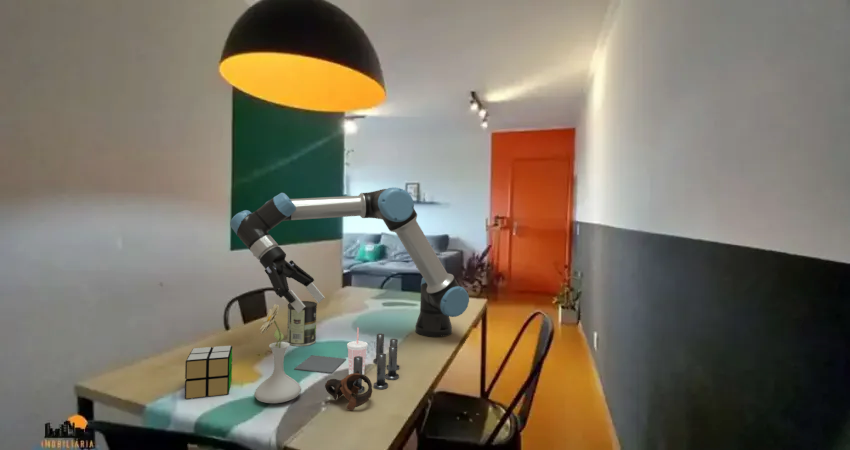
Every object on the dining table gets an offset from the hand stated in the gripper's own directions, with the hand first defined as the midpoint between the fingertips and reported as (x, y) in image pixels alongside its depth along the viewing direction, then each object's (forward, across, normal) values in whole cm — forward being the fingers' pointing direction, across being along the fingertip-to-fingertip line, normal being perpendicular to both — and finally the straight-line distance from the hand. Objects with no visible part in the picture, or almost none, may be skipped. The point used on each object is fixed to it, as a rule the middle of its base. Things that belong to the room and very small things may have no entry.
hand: (312, 304), depth 128 cm
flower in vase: (+15, +22, -13) cm, 30 cm away
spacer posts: (+30, +1, +2) cm, 30 cm away
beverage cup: (+25, +1, -3) cm, 25 cm away
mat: (+15, -3, -12) cm, 20 cm away
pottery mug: (+28, +19, 0) cm, 34 cm away
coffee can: (+4, -22, -24) cm, 33 cm away
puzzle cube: (+1, +21, -27) cm, 34 cm away
